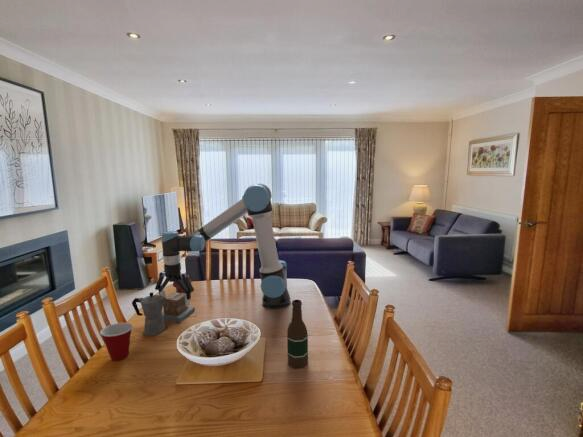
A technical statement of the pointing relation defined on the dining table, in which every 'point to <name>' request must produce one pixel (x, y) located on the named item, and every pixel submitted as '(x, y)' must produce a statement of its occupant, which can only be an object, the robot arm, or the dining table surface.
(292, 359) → the beer bottle
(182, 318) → the shaft stand
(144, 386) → the dining table surface
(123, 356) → the plastic cup
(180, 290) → the mechanical component
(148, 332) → the coffeepot
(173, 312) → the cardboard box
